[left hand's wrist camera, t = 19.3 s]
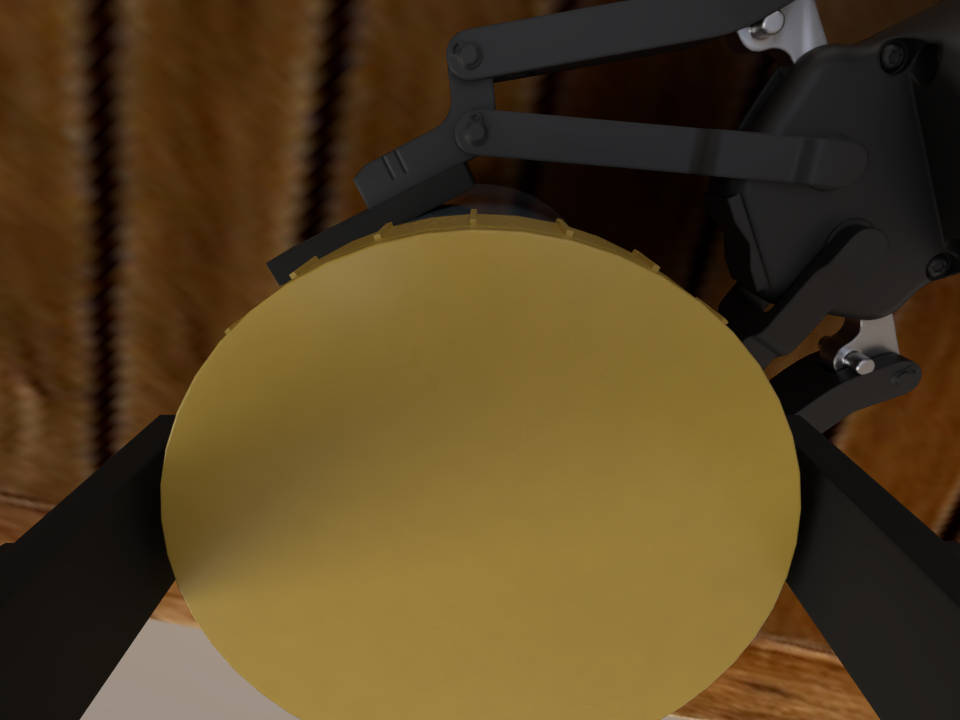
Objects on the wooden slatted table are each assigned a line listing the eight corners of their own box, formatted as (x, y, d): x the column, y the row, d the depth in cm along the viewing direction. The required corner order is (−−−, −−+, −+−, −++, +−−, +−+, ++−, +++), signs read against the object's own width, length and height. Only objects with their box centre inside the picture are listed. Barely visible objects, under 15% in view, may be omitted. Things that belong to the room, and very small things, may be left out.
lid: (89, 358, 11) (16, 401, 10) (659, 98, 10) (698, 89, 8) (365, 741, 15) (349, 823, 13) (811, 599, 13) (861, 671, 12)
